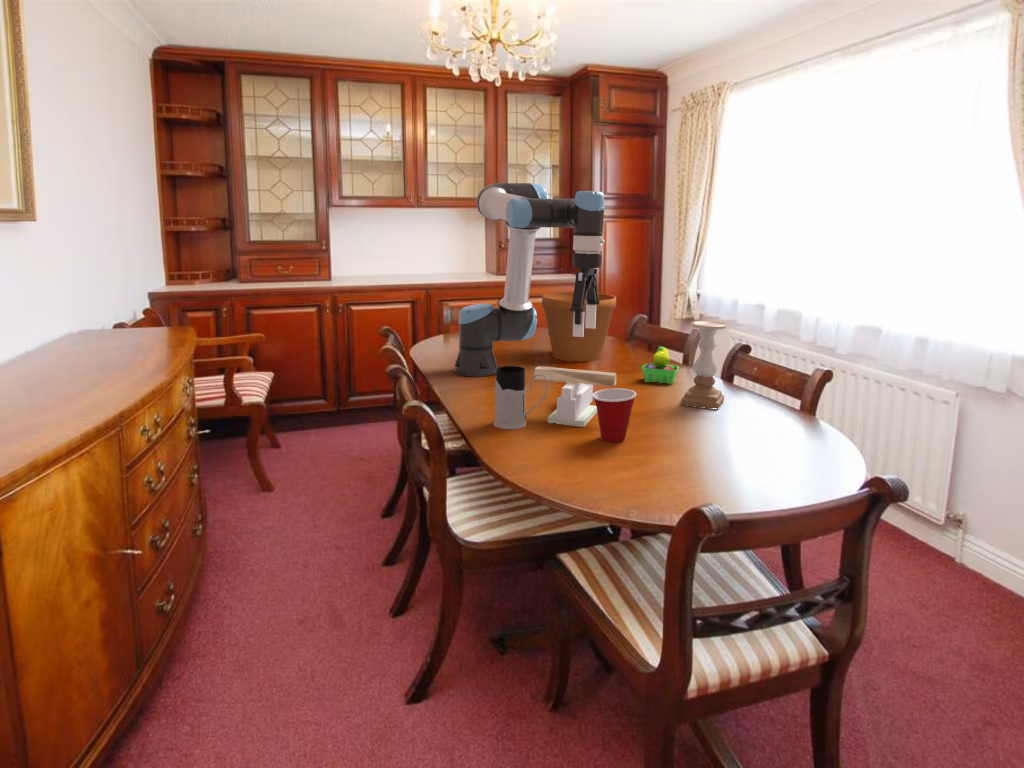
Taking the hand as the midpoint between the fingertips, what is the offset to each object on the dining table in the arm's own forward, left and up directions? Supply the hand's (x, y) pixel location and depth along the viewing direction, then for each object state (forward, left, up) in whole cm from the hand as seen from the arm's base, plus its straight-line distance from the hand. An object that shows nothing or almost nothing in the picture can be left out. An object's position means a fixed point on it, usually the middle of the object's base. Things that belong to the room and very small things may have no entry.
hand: (584, 332), depth 187 cm
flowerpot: (-77, -22, -24) cm, 83 cm away
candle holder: (-26, +30, -24) cm, 46 cm away
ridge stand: (+2, -2, -23) cm, 23 cm away
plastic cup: (+17, +12, -24) cm, 32 cm away
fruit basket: (-49, +14, -24) cm, 56 cm away
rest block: (-12, -4, -23) cm, 26 cm away
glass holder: (+14, -13, -24) cm, 30 cm away
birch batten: (+2, -2, -13) cm, 14 cm away
